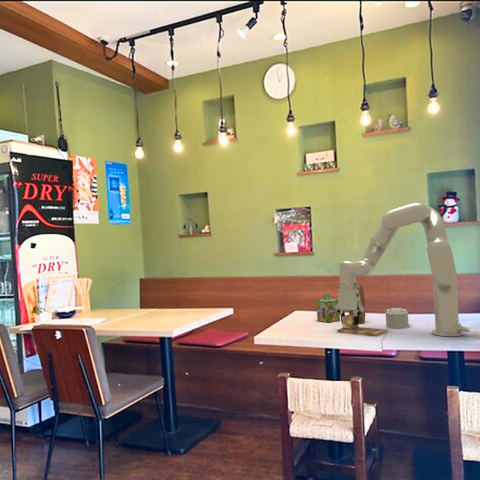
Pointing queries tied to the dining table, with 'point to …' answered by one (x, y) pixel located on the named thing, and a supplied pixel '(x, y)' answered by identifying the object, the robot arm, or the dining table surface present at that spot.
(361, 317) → the block
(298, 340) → the dining table surface
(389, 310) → the lumpy-topped squat cylinder
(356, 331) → the board
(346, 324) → the block
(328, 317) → the chalk box
